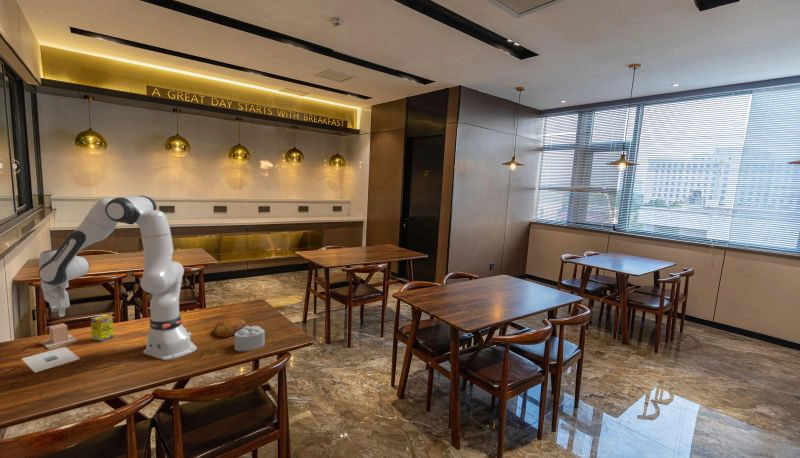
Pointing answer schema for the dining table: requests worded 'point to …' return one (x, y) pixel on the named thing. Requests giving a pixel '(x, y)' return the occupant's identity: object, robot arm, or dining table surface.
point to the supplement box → (102, 328)
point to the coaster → (50, 345)
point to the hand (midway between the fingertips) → (58, 313)
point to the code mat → (50, 359)
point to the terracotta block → (58, 333)
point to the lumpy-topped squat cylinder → (249, 338)
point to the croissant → (228, 327)
